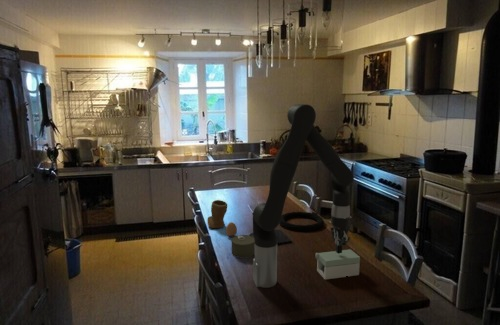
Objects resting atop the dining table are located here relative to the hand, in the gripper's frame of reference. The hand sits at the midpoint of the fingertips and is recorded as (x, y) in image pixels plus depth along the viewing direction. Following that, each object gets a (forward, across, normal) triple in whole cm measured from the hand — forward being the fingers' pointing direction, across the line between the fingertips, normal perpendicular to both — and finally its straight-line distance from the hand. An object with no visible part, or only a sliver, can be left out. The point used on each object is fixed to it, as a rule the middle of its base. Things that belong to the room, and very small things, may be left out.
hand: (338, 252), depth 153 cm
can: (+10, -30, -36) cm, 48 cm away
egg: (+9, -52, -37) cm, 65 cm away
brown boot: (+10, -71, -42) cm, 83 cm away
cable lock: (+10, -62, +9) cm, 63 cm away
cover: (+4, 0, -1) cm, 4 cm away
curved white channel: (+9, 0, 0) cm, 9 cm away
